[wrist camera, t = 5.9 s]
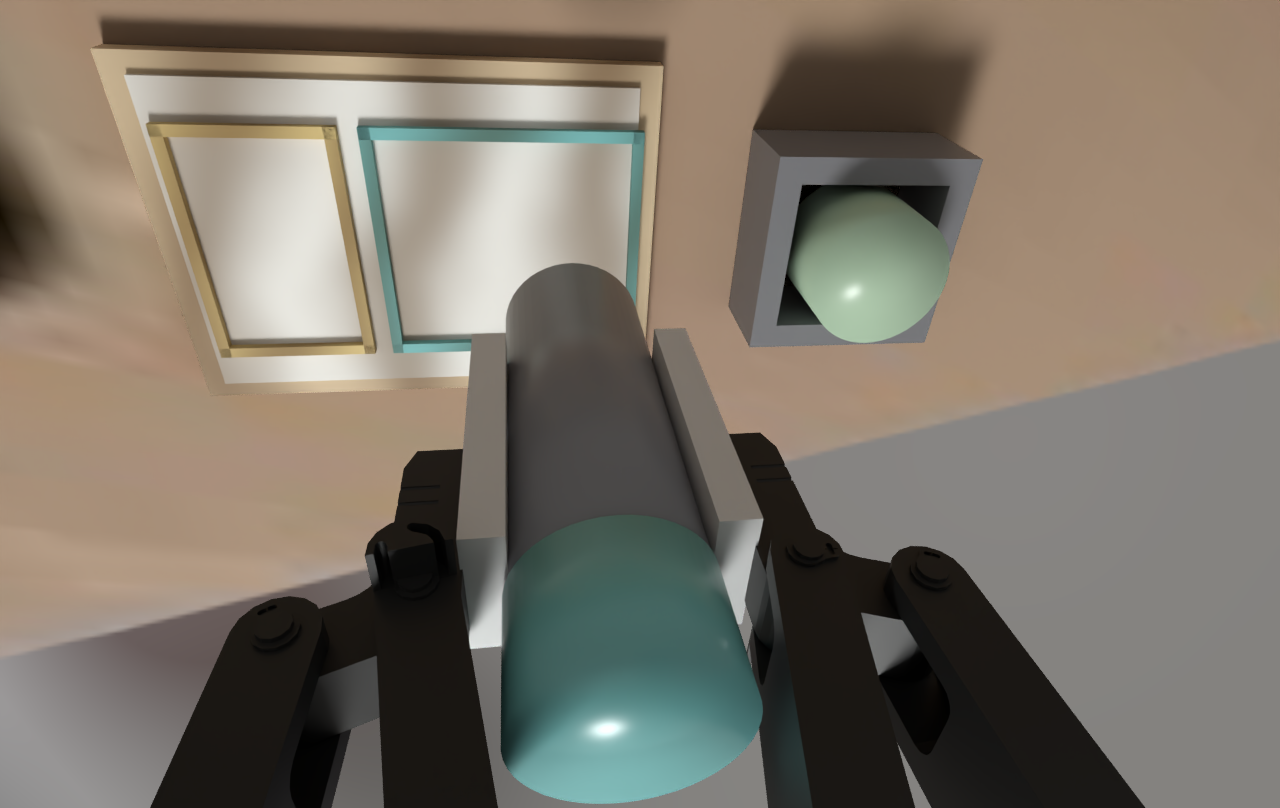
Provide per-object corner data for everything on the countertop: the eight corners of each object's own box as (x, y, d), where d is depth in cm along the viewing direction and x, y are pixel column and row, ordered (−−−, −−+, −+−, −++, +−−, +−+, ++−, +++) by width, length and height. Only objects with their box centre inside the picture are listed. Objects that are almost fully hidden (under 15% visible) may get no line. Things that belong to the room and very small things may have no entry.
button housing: (936, 133, 28) (982, 159, 26) (889, 303, 33) (924, 342, 30) (753, 129, 27) (780, 156, 25) (728, 306, 32) (749, 347, 29)
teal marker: (641, 260, 19) (781, 639, 9) (635, 378, 21) (744, 786, 11) (499, 262, 18) (491, 667, 9) (507, 382, 21) (508, 817, 11)
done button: (917, 177, 28) (968, 213, 25) (885, 296, 30) (926, 341, 27) (792, 176, 27) (828, 213, 24) (771, 297, 30) (801, 344, 27)
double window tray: (659, 61, 26) (666, 69, 25) (640, 371, 33) (644, 387, 32) (101, 44, 23) (82, 51, 22) (217, 385, 30) (206, 403, 29)
